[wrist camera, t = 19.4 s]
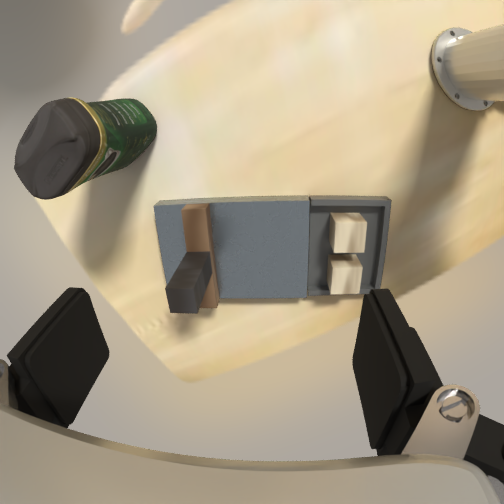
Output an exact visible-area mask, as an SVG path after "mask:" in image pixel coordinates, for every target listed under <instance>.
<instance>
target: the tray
mask: <svg viewBox="0 0 504 504" xmlns="http://www.w3.org/2000/svg"><path fill="white" fill-rule="evenodd" d="M390 209H391V200H390V199H389V198H388V197H384V196H310V218H309V257H308V282H307V290H308V296H316V295H331V294H330V290H329V287H328V283H327V267H328V255H341V254H356V256H357V257H358V259H359V261H360V263H361V265H362V267H363V269H362V277H361V284H360V292H359V294H369V292H370V290H371V289H380V286H381V280H382V273H383V267H384V260H385V253H386V245H387V237H388V229H389V220H390ZM330 213H360V214H361V216H362V217H363V218H364V219H365V221H366V222H367V230H366V240H365V250H364V253H334V252H333V249H332V247H331V245H330V242H329V229H330ZM332 295H349V294H332Z"/></svg>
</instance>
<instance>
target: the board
mask: <svg viewBox="0 0 504 504" xmlns="http://www.w3.org/2000/svg"><path fill="white" fill-rule="evenodd" d="M201 203H209V205H210V216H211V226H212V235H213V245H214V254H215V263H216V272H217V281H218V289H219V298H307V279H308V252H309V207H310V200H309V198H308V196H250V197H221V198H198V199H180V200H163V201H159V202H158V203H156V204H155V205H154V212H155V219H156V226H157V232H158V238H159V244H160V250H161V256H162V262H163V267H164V272H165V278H166V283H167V285H168V283H169V281H170V279H171V278H172V276H173V274H174V273H175V271H176V269H177V267H178V266H179V264H180V262H181V261H182V259H183V257H184V256H185V254H186V252H187V250H186V243H185V236H184V229H183V221H182V213H181V210H182V209H183V207H184V206H185V205H186V204H201Z"/></svg>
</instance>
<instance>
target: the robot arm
mask: <svg viewBox="0 0 504 504" xmlns="http://www.w3.org/2000/svg"><path fill="white" fill-rule="evenodd" d="M437 60H438V61H437ZM432 65H433V70H434V73H435V76H436V79H437V81H438V83H439V85H440V86H441V88H442V89H443V91H444V92H445V94H446V95H447V96H448V97H449V98H450V99H451V100H452V101H453V102H455V103H456V104H457V105H459V106H461V107H462V108H465V109H468V110H484V109H487V108H488V107H490V106H491V105H492V104H493V103H494V102H495V101H504V24H503V25H499V26H495V27H491V28H488V29H484V30H480V31H477V32H471V31H469V30H467V29H463V28H450V29H447V30H445V31H443V32H441V33H440V34H439V35H438V36H437V38H436V39H435V41H434V44H433V47H432ZM7 357H8V358H9V360H10V362H11V365H10V366H8V364H7V363H6V362H5V361H4V360H2V359H0V504H504V425H503V424H500V423H498V422H496V421H494V420H492V419H489V418H487V417H485V416H483V415H480V414H479V412H480V405H479V401H478V399H477V398H476V396H475V394H473V393H472V392H471V391H470V390H469V389H467V388H465V387H463V386H459V385H446V386H443V384H442V382H441V380H440V378H439V376H438V373H437V371H436V369H435V367H434V365H433V363H432V361H431V359H430V357H429V355H428V353H427V351H426V349H425V347H424V345H423V343H422V342H421V340H420V338H419V336H418V334H417V332H416V330H415V329H414V328H412V327H409V325H408V323H407V321H406V319H405V317H404V316H403V314H402V312H401V310H400V308H399V306H398V305H397V303H396V301H395V299H394V297H393V295H392V294H391V292H390V290H389V289H371V290H370V292H369V294H365V295H364V298H363V304H362V310H361V316H360V322H359V328H358V333H357V339H356V344H355V349H354V353H353V370H354V374H355V378H356V382H357V386H358V391H359V395H360V399H361V404H362V408H363V413H364V418H365V422H366V427H367V432H368V437H369V442H370V446H371V448H372V449H376V450H377V455H378V456H374V457H362V458H351V459H338V460H321V461H276V462H274V461H243V460H226V459H215V458H205V457H196V456H188V455H180V454H174V453H168V452H161V451H156V450H150V449H145V448H140V447H135V446H130V445H126V444H122V443H117V442H113V441H109V440H105V439H102V438H98V437H94V436H91V435H87V434H84V433H80V432H77V431H74V430H70V429H67V428H68V426H69V424H71V423H73V421H74V420H75V418H76V416H77V414H78V412H79V410H80V408H81V406H82V404H83V403H84V401H85V399H86V397H87V395H88V394H89V392H90V390H91V388H92V386H93V385H94V383H95V381H96V379H97V377H98V376H99V374H100V372H101V370H102V369H103V367H104V365H105V364H106V362H107V360H108V358H109V348H108V346H107V343H106V341H105V338H104V336H103V333H102V330H101V328H100V325H99V322H98V319H97V316H96V314H95V311H94V308H93V305H92V302H91V299H90V296H89V294H88V293H87V292H86V291H85V290H84V289H83V288H68V289H67V290H66V291H65V292H64V293H63V294H62V295H61V296H60V297H59V298H58V299H57V300H56V301H55V302H54V303H53V304H52V305H51V306H50V307H49V309H47V311H46V312H45V313H44V314H43V315H42V316H41V317H40V318H39V319H38V320H37V321H36V323H35V324H34V325H33V326H32V327H31V328H30V329H29V330H28V331H27V333H26V334H25V335H24V336H23V337H22V338H21V339H20V341H19V342H18V343H17V344H16V345H15V346H14V348H13V349H12V350H11V351H10V352H9V353H8V355H7Z"/></svg>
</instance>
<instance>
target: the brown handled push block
mask: <svg viewBox="0 0 504 504" xmlns="http://www.w3.org/2000/svg"><path fill="white" fill-rule="evenodd" d="M181 213H182V221H183V229H184V236H185V243H186V250H187V252H186V254H185V256H184V257H183V259H182V261H181V262H180V264H179V266H178V267H177V269H176V271H175V273H174V274H173V276H172V278H171V279H170V281H169V283H168V285H167V286H166V288H165V290H166V295H167V299H168V304H169V308H170V313H198V311H199V308H217V306H218V302H219V299H220V298H219V289H218V281H217V272H216V263H215V254H214V245H213V235H212V226H211V216H210V205H209V203H201V204H186V205H185V206H184V207H183V209H182V210H181Z"/></svg>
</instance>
